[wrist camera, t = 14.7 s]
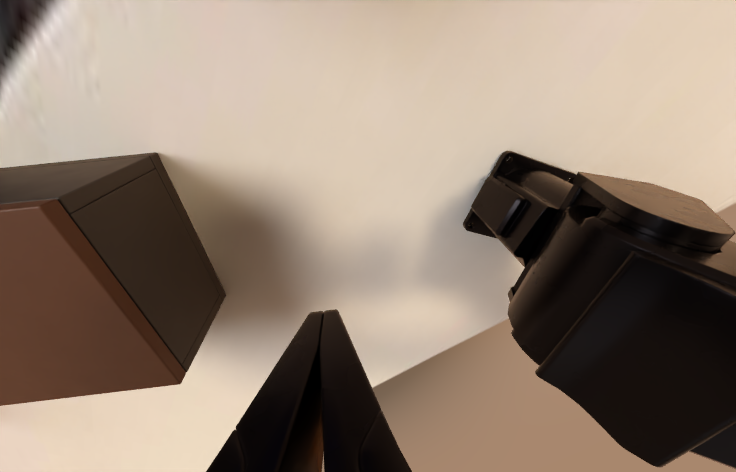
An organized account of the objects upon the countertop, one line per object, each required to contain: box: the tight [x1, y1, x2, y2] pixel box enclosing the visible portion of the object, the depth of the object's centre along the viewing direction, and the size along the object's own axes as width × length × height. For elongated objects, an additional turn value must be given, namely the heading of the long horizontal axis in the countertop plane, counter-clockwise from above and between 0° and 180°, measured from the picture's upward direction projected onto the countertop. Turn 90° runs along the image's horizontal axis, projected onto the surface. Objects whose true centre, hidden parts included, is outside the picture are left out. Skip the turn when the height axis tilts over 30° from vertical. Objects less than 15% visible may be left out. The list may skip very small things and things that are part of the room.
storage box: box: [0, 153, 226, 372], centre depth 18 cm, size 13×13×7 cm
